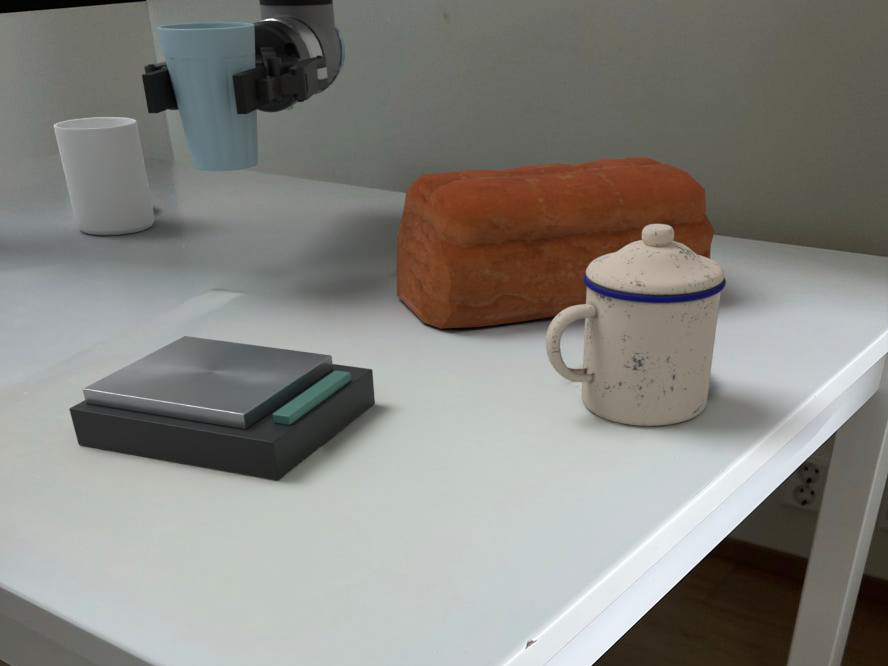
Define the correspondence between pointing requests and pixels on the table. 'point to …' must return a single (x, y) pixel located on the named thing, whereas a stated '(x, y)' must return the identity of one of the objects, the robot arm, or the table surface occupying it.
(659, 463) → the table surface
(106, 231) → the mug
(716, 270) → the teacup with lid
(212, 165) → the cup
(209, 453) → the scale
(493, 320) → the bread
